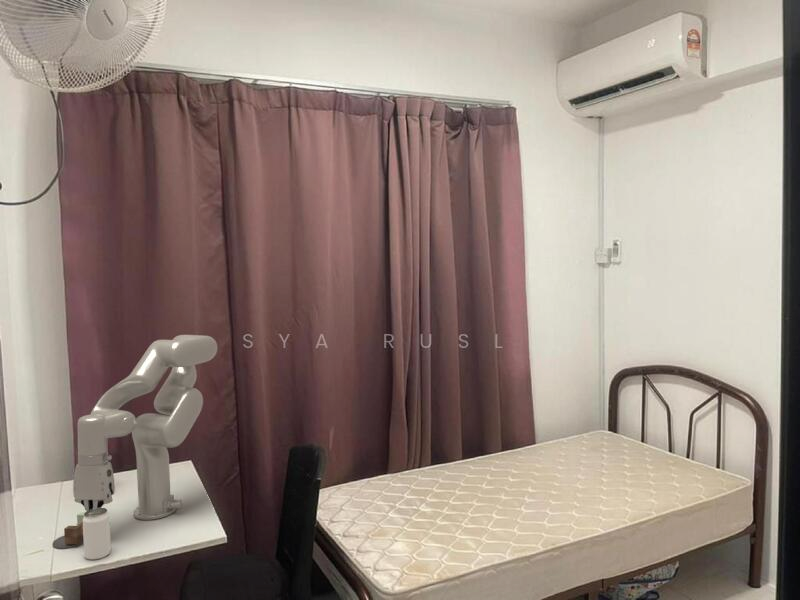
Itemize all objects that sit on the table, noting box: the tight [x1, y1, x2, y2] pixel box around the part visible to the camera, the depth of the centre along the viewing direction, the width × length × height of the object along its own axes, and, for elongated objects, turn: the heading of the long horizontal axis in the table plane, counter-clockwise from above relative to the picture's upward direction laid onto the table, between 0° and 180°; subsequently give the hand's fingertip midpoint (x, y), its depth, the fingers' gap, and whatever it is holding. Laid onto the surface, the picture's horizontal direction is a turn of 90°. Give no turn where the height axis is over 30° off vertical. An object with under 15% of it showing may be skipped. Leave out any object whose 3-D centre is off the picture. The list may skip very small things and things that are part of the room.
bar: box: [63, 522, 83, 544], centre depth 175 cm, size 4×11×4 cm, turn 175°
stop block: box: [76, 511, 86, 526], centre depth 186 cm, size 4×2×3 cm, turn 85°
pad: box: [52, 535, 84, 550], centre depth 174 cm, size 9×9×1 cm
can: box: [83, 507, 112, 561], centre depth 165 cm, size 6×6×12 cm
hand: (93, 522), depth 173 cm, fingers closed
